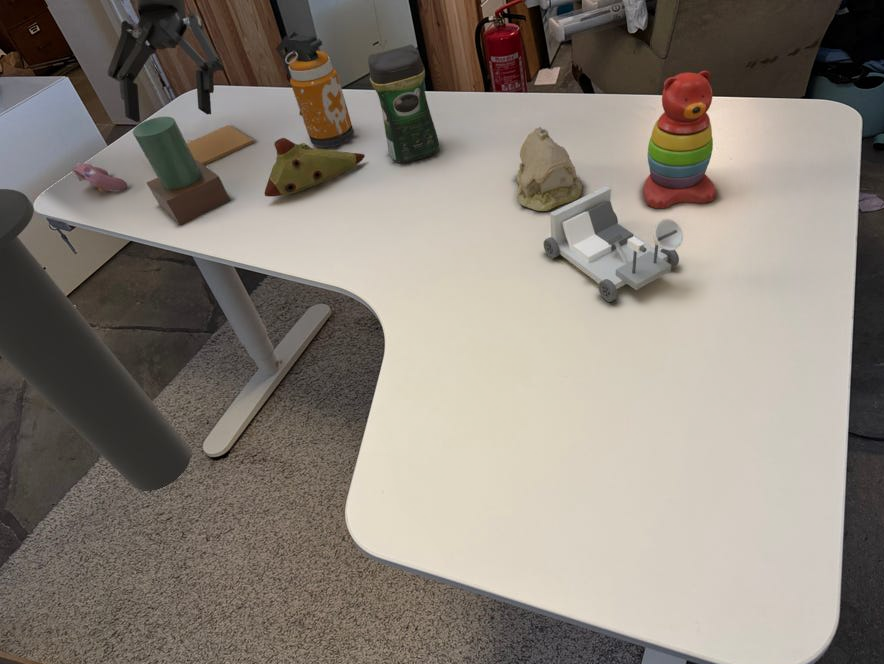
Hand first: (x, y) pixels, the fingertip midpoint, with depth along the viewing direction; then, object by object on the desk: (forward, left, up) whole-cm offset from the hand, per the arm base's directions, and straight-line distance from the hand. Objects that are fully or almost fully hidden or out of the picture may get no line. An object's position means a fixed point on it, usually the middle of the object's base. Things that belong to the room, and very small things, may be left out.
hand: (168, 115), depth 106 cm
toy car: (+75, +30, -15) cm, 82 cm away
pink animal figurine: (-18, -14, -15) cm, 27 cm away
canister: (+4, +26, -15) cm, 30 cm away
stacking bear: (+70, +51, -15) cm, 88 cm away
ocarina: (+18, +15, -15) cm, 27 cm away
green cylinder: (+4, -4, -9) cm, 11 cm away
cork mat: (-15, +9, -14) cm, 23 cm away
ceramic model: (+53, +39, -15) cm, 67 cm away
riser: (+4, -4, -14) cm, 15 cm away
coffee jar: (+24, +33, -15) cm, 43 cm away
